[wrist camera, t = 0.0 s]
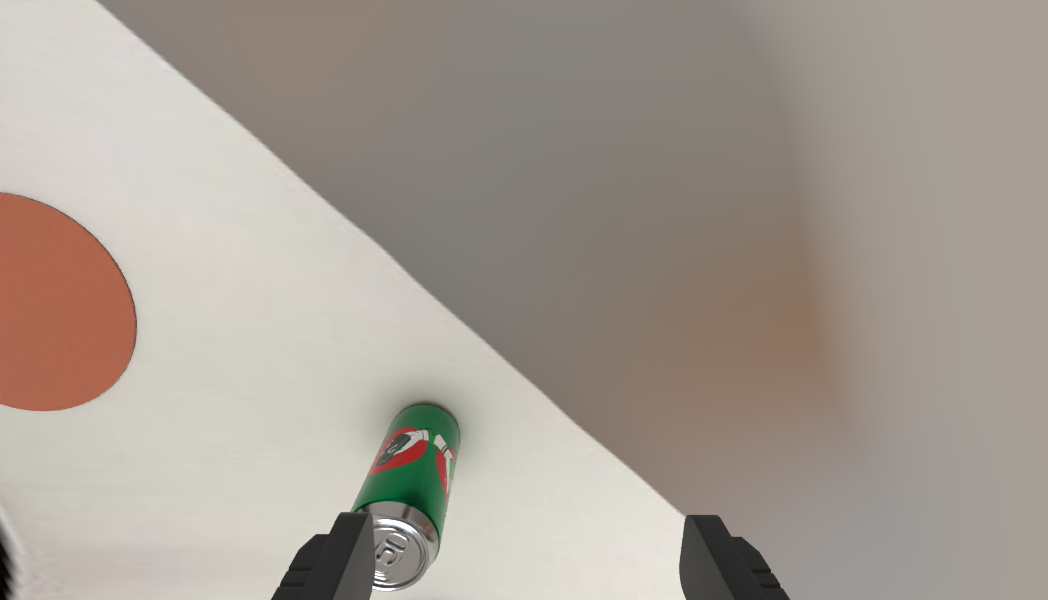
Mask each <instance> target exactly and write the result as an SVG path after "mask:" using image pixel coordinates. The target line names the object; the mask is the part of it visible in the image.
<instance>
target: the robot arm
mask: <svg viewBox="0 0 1048 600" xmlns="http://www.w3.org/2000/svg"><path fill="white" fill-rule="evenodd" d="M375 570H376V559H375V543H374V526H373V516H372V513H370V512H341V513H340V514H339V515H338V517H337V519H336V521H335V523H334V525H333V527H332V529H331V531H330V533H329V534H316V535H315V536H314V537H312V538H311V539H310V540H309V541H308V542H307V543H306V544H305V545H304V546H302V547H301V548H300V549H299V550H298V552H297V554H296V556H295V558H294V559H293V561H292V563H291V565H290V567H289V570H288V572H286V574H285V576H284V577H283V579H282V581H281V583H280V587H278V588H277V590H276V592H275V594H274V595H273V597H272V599H271V600H369V599H370V596H371V592H372V589H373V585H374V579H375ZM679 573H680V581H681V586H682V590H683V593H684V595H685V598H686V600H790V599H789V597H788V596H787V594H786V593H785V591H784V590H783V589H782V588H781V587H780V583H779V582H778V580H777V579H776V577H775V576H774V574H773V573H771V569H770V568H769V566H768V565H767V563H766V562H765V560H764V559H763V557H762V555H761V554H760V553H759V551H757V550H756V549H755V548H754V547H753V546H752V545H750V544H749V543H748V542H747V541H746V540H745V539H743V538H742V537H731V535H730V533H729V532H728V530H727V528H726V527H725V525H724V523H723V522H722V520H721V519H720V517H719V516H717V515H687V516H686V519H685V523H684V531H683V539H682V547H681V555H680V564H679Z"/></svg>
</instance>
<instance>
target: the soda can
mask: <svg viewBox="0 0 1048 600" xmlns="http://www.w3.org/2000/svg"><path fill="white" fill-rule="evenodd" d="M459 442H460V433H459V429H458V426H457V424H456V422H455V421H454V419H453V418H452V417H451V416H450V415H449V414H448V413H447V412H445V411H444V410H442V409H440V408H437V407H434V406H430V405H416V406H412V407H409V408H407V409H405V410H403V411H402V412H400V413H399V414H398V415H397V416H396V417H395V419H394V420H393V422H392V423H391V426H390V428H389V430H388V432H387V434H386V436H385V438H384V440H383V443H382V445H381V447H380V449H379V451H378V453H377V455H376V458H375V460H374V462H373V464H372V466H371V468H370V470H369V473H368V475H367V477H366V479H365V481H364V483H363V485H362V487H361V490H360V492H359V494H358V496H357V498H356V500H355V502H354V505H353V507H352V509H351V511H350V512H370V513H372V516H373V526H374V543H375V559H376V570H375V579H374V585H373V589H374V590H378V591H398V590H402V589H405V588H407V587H410V586H411V585H413V584H415V583H416V582H417V581H419V580H420V579H421V577H422V576H423V575H424V573H425V572H426V570H427V569H428V568H429V567H430V566H431V564H432V563H433V562H434V560H435V559H436V557H437V555H438V552H439V548H440V543H441V538H442V532H443V527H444V522H445V517H446V511H447V506H448V501H449V495H450V490H451V485H452V479H453V474H454V469H455V464H456V458H457V453H458V448H459Z"/></svg>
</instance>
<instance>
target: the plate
mask: <svg viewBox="0 0 1048 600" xmlns="http://www.w3.org/2000/svg"><path fill="white" fill-rule="evenodd" d="M135 338H136V316H135V309H134V304H133V300H132V297H131V293H130V290H129V288H128V286H127V283H126V281H125V278H124V277H123V275H122V273H121V271H120V270H119V268H118V266H117V264H116V263H115V262H114V260H113V259H112V257H111V256H110V255H109V253H108V252H107V251H106V249H105V248H104V247H103V246H102V245H101V244H100V243H99V242H98V241H97V240H96V238H94V237H93V236H92V235H91V234H90V233H89V232H88V231H87V230H85V229H84V228H83V227H82V226H81V225H79V224H78V223H76V222H75V221H74V220H72V219H71V218H69V217H68V216H66V215H64V214H63V213H61V212H59V211H57V210H56V209H54V208H52V207H49V206H47V205H45V204H42V203H40V202H38V201H35V200H32V199H28V198H25V197H22V196H17V195H12V194H6V193H0V404H2V405H6V406H9V407H13V408H18V409H24V410H32V411H53V410H62V409H67V408H72V407H75V406H78V405H81V404H84V403H86V402H88V401H90V400H92V399H94V398H96V397H98V396H99V395H101V394H102V393H104V392H105V391H106V390H108V389H109V388H110V387H111V386H112V385H113V384H114V383H115V382H116V381H117V380H118V379H119V377H120V376H121V375H122V373H123V372H124V370H125V368H126V367H127V365H128V363H129V361H130V358H131V355H132V352H133V349H134V344H135Z"/></svg>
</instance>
